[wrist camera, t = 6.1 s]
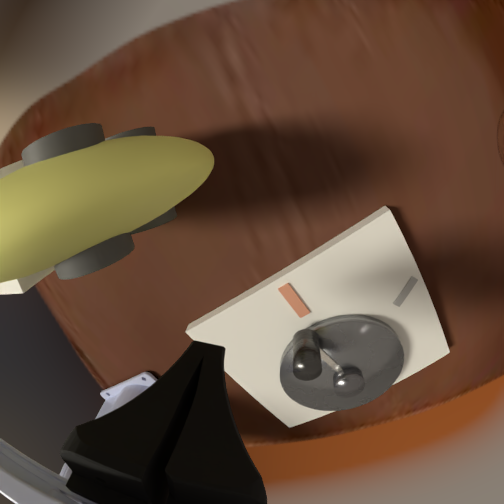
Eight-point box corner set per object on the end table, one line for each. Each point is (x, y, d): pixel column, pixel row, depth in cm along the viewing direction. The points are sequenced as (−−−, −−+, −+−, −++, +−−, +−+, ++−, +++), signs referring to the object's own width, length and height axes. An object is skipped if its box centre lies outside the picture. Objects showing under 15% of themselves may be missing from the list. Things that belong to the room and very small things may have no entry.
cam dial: (418, 362, 22) (433, 397, 18) (326, 415, 25) (328, 451, 21) (354, 281, 19) (368, 318, 16) (246, 355, 23) (240, 395, 19)
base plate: (289, 420, 27) (289, 428, 26) (188, 324, 23) (184, 333, 22) (445, 345, 22) (450, 353, 21) (385, 205, 18) (390, 210, 17)
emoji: (74, 232, 22) (252, 188, 18) (-73, 326, 8) (109, 352, 4) (57, 175, 20) (234, 110, 17) (-105, 239, 6) (24, 59, 3)
